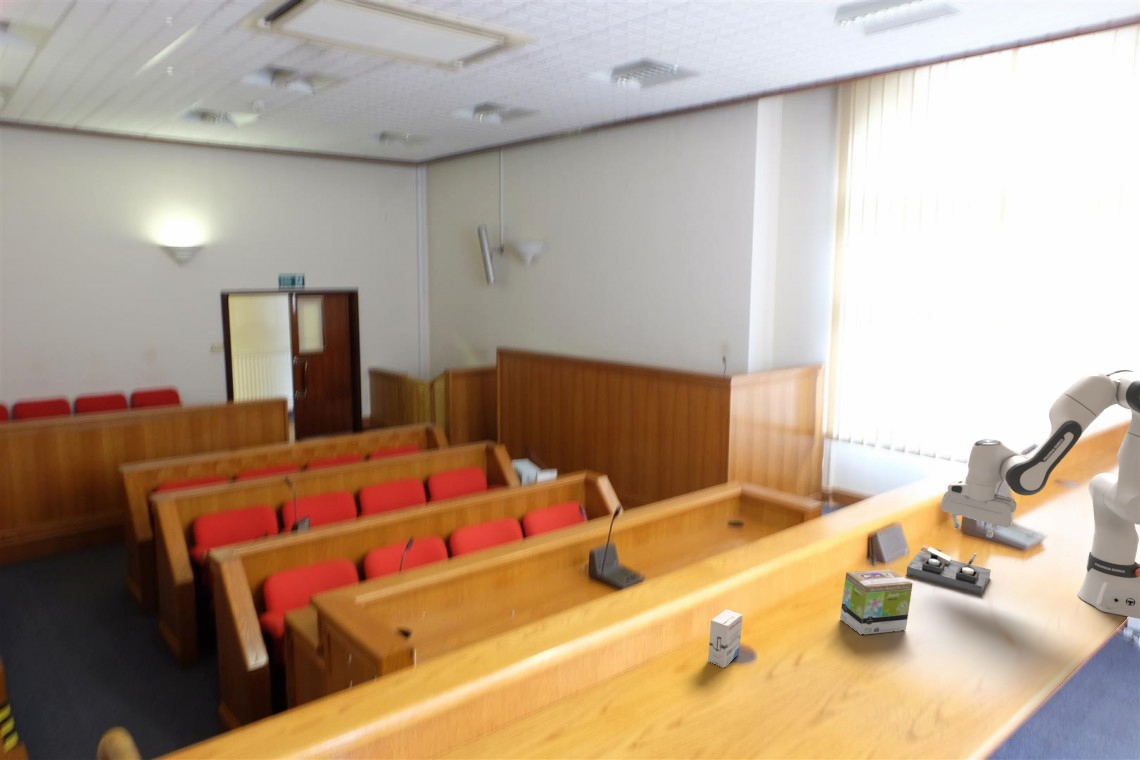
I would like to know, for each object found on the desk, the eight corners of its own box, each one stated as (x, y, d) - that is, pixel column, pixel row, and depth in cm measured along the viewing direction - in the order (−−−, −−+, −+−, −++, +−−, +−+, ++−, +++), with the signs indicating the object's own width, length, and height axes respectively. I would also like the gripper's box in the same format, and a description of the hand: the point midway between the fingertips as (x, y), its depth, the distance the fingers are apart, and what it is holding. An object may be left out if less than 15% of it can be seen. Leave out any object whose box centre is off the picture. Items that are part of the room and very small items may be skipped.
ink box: (722, 648, 201) (726, 607, 199) (740, 655, 198) (743, 613, 196) (706, 662, 194) (709, 619, 192) (724, 669, 191) (727, 626, 189)
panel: (989, 578, 250) (991, 561, 249) (981, 595, 237) (983, 578, 236) (917, 559, 263) (919, 543, 262) (906, 575, 250) (908, 558, 249)
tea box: (861, 637, 209) (866, 586, 207) (839, 619, 219) (844, 571, 216) (907, 631, 213) (913, 582, 211) (883, 614, 223) (889, 566, 220)
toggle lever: (969, 566, 250) (977, 554, 248) (969, 567, 249) (977, 555, 247) (966, 564, 250) (974, 552, 248) (965, 565, 249) (973, 553, 248)
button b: (940, 564, 249) (940, 560, 248) (937, 567, 246) (938, 563, 246) (929, 561, 250) (929, 558, 250) (927, 564, 248) (927, 561, 248)
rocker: (948, 563, 255) (951, 556, 254) (946, 566, 252) (949, 560, 251) (921, 549, 259) (924, 543, 259) (919, 553, 256) (922, 546, 256)
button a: (974, 572, 243) (974, 569, 243) (972, 576, 240) (972, 572, 240) (963, 570, 245) (963, 566, 244) (961, 573, 242) (961, 569, 242)
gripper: (1019, 497, 234) (1011, 539, 237) (948, 480, 247) (941, 520, 250) (1015, 501, 229) (1007, 544, 232) (942, 484, 242) (936, 525, 245)
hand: (972, 532), depth 241 cm, fingers open, 8 cm apart
